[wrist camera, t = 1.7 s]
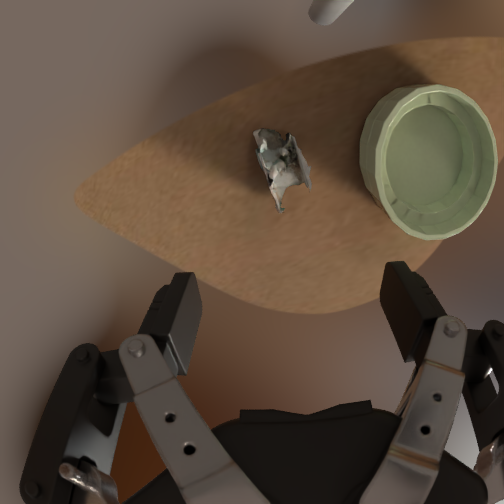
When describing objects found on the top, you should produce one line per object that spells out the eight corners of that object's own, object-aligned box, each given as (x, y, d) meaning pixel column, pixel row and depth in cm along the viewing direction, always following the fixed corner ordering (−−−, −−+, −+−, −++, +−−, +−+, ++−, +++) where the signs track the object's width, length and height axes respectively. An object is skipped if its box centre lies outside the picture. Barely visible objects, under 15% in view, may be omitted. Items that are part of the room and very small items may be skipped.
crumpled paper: (276, 205, 29) (280, 236, 23) (248, 132, 25) (243, 142, 19) (316, 192, 28) (330, 220, 22) (291, 117, 24) (300, 122, 18)
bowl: (355, 77, 22) (373, 73, 17) (473, 98, 20) (501, 102, 16) (354, 221, 29) (369, 243, 25) (461, 218, 28) (483, 237, 24)
